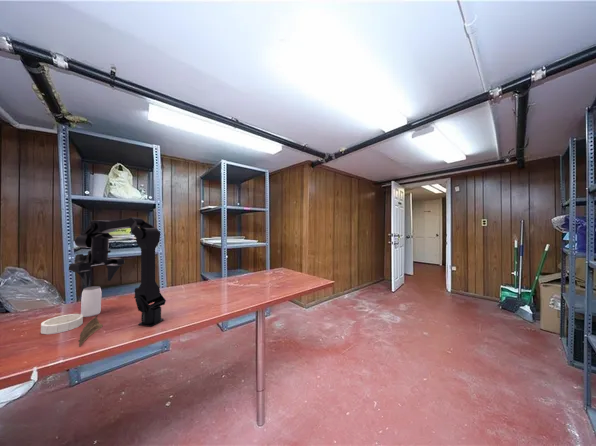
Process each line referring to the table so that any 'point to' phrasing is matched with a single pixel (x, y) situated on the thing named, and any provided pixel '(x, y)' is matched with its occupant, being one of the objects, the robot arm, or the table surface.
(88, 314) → the white rounded block
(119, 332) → the table surface
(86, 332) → the brown curved piece
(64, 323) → the bowl
